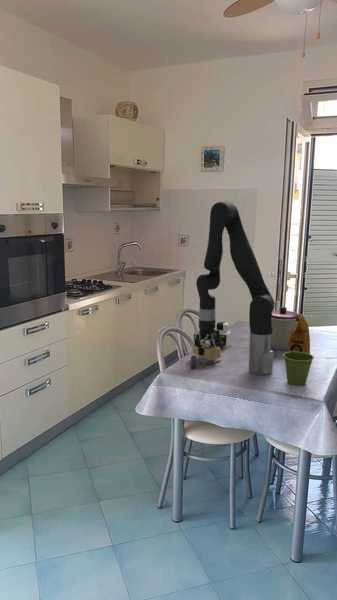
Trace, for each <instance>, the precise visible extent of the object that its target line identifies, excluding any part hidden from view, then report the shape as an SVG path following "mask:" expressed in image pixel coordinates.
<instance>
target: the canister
mask: <svg viewBox="0 0 337 600" xmlns="http://www.w3.org/2000/svg"><path fill="white" fill-rule="evenodd" d="M299 314H300V313H298V312H294V311H290V310H287V307H286V306H280V307H279V310H278V309H277V310H273V311H272V328H273V330H272V349H274V350H278V351H288V341H289V337H290V334H291V332H292V329H293V327H294V326H295V324H296V323H297V322H298V321H295V320H296V319H297V318H299V317H298V316H299Z"/></svg>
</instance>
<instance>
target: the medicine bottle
mask: <svg viewBox="0 0 337 600" xmlns="http://www.w3.org/2000/svg"><path fill="white" fill-rule="evenodd" d="M229 325H230V324H229V323H228V322H226V321H225V322H224V321H219V322H216V327H215V329H216V330H219V331H220V333H219V340H218V343H216V344H215V346H216V347H218V348H221V347H222V348H223V349H227V348H228V347H230V346H231V345H232V331H230V330H229ZM213 336H214V335H213ZM222 348H221V349H222Z"/></svg>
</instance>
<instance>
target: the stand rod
mask: <svg viewBox="0 0 337 600" xmlns="http://www.w3.org/2000/svg"><path fill="white" fill-rule="evenodd" d="M197 358H198V355H195V354H192V355H190V369H191V368H192V370H196V369H197V363H198V362H197Z"/></svg>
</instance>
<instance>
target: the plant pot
mask: <svg viewBox="0 0 337 600" xmlns="http://www.w3.org/2000/svg"><path fill="white" fill-rule="evenodd" d="M282 356H283V358H284V362H285V363H284V364H285V371H286V373H285V374H286V381H287V382H288V383H289V384H290V385H293V386H305V385H306V384H307V380H308V377H309V372H310V369H311V365H312V363H313V360H314V359H315V357H314V355H312V354H311V353H310V354H308V353H304V352H288V351H286V352H284V353H283V354H282Z"/></svg>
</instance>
